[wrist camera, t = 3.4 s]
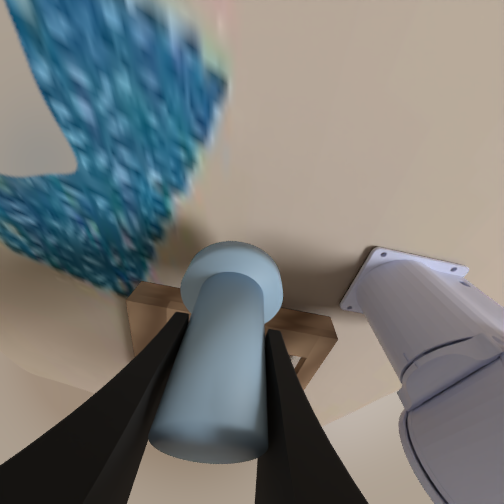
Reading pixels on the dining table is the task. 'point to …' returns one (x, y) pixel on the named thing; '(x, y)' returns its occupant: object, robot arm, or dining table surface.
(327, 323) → the keyhole bridge
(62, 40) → the dining table surface
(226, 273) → the footed peg
